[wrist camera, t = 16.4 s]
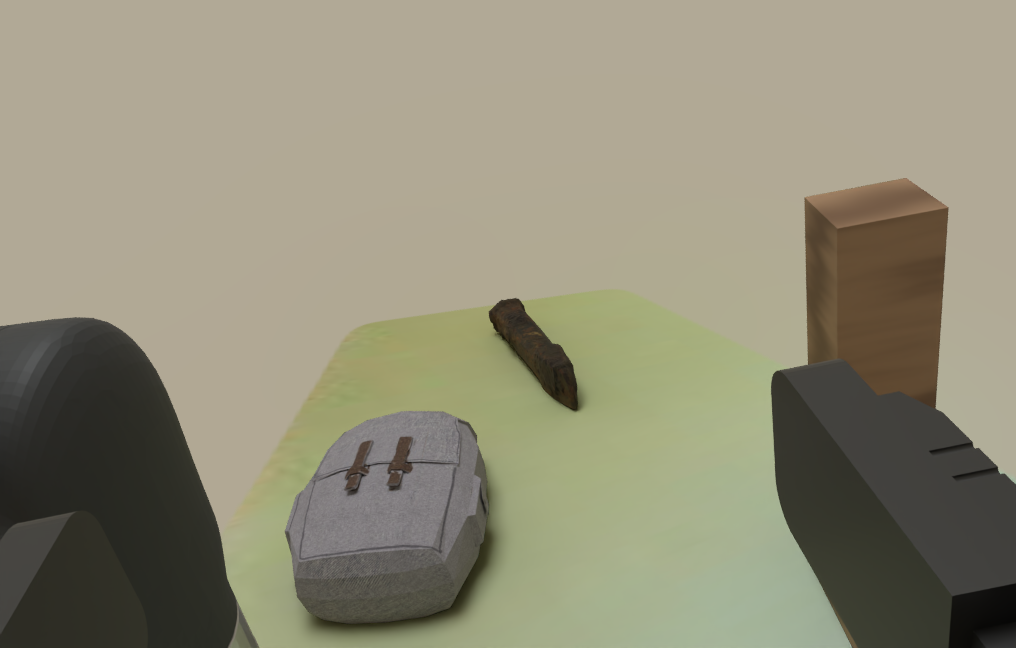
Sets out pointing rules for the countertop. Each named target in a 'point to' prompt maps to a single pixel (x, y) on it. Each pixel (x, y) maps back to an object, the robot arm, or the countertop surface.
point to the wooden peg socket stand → (877, 286)
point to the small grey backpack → (390, 520)
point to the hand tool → (536, 350)
